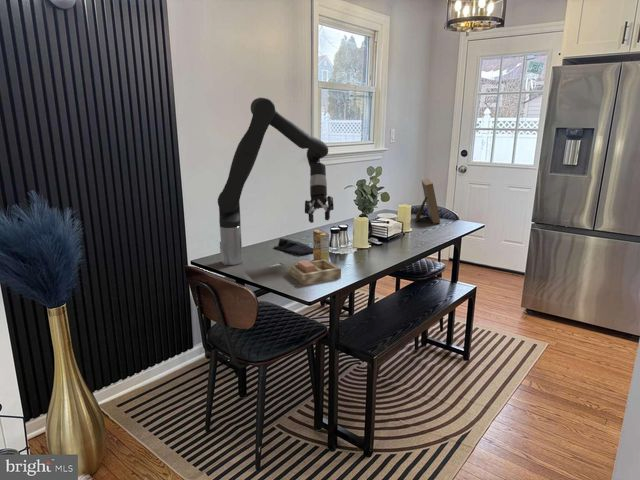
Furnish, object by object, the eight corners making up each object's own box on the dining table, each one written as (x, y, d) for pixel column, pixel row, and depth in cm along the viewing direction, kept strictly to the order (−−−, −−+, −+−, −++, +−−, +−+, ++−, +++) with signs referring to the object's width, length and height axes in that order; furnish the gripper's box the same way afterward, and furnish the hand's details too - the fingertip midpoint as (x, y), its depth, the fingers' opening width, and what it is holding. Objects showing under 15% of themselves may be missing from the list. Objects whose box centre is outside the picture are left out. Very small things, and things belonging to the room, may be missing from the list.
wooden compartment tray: (303, 288, 173) (303, 275, 171) (289, 277, 185) (289, 264, 183) (340, 281, 180) (341, 268, 178) (324, 271, 192) (324, 259, 190)
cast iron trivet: (296, 258, 211) (296, 248, 210) (271, 248, 228) (271, 239, 226) (321, 252, 220) (321, 243, 219) (295, 243, 237) (295, 234, 236)
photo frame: (435, 216, 295) (437, 178, 288) (440, 223, 274) (442, 183, 267) (412, 216, 296) (413, 178, 290) (415, 223, 276) (417, 183, 269)
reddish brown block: (306, 281, 176) (306, 266, 174) (297, 275, 183) (297, 261, 181) (315, 279, 178) (315, 265, 176) (306, 273, 184) (306, 259, 183)
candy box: (312, 263, 203) (312, 230, 199) (321, 261, 204) (321, 229, 200) (321, 268, 195) (320, 234, 191) (329, 267, 197) (329, 233, 193)
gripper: (300, 187, 203) (301, 222, 200) (326, 181, 195) (327, 218, 192) (310, 190, 209) (311, 224, 207) (336, 185, 201) (337, 220, 198)
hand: (319, 221), depth 199 cm, fingers open, 8 cm apart
